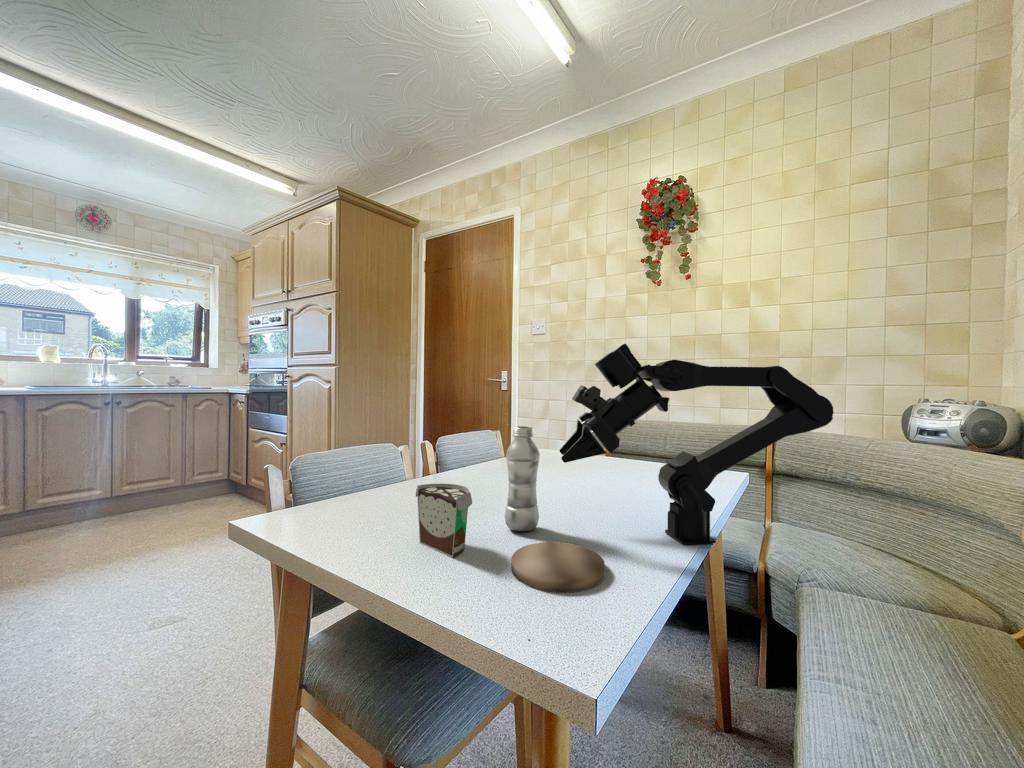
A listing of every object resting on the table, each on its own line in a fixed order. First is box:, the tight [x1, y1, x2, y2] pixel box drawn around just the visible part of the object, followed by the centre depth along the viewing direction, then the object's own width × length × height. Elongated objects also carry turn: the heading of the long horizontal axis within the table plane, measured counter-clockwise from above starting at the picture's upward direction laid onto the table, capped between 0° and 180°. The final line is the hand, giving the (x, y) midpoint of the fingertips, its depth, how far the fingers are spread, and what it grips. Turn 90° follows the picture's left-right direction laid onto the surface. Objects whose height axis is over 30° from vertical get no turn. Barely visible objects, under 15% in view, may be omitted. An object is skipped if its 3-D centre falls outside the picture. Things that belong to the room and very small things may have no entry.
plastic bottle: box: [504, 425, 541, 532], centre depth 78 cm, size 6×7×20 cm
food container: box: [415, 482, 473, 559], centre depth 70 cm, size 12×6×10 cm, turn 47°
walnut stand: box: [510, 541, 606, 593], centre depth 61 cm, size 14×14×2 cm
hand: (561, 456), depth 76 cm, fingers open, 9 cm apart
